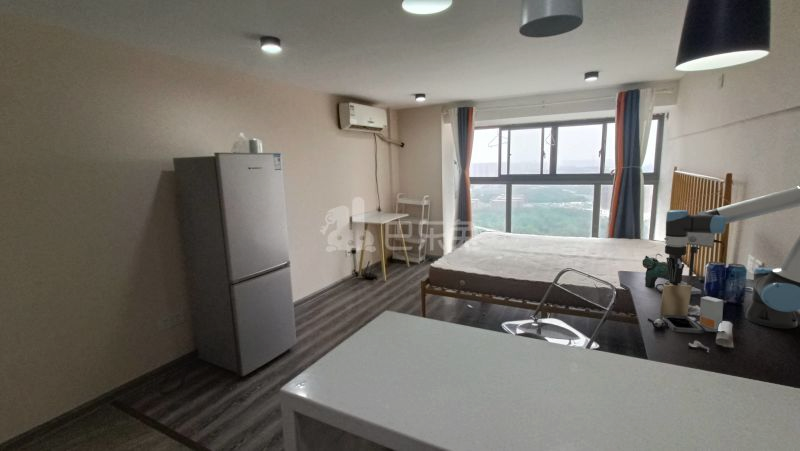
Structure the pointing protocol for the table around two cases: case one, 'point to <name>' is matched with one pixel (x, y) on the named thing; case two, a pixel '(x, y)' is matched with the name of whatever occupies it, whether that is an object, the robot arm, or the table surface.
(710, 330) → the rubber mat
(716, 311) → the skincare box
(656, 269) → the ceramic cat
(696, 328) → the grey picture frame
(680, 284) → the coffee mug
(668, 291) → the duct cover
